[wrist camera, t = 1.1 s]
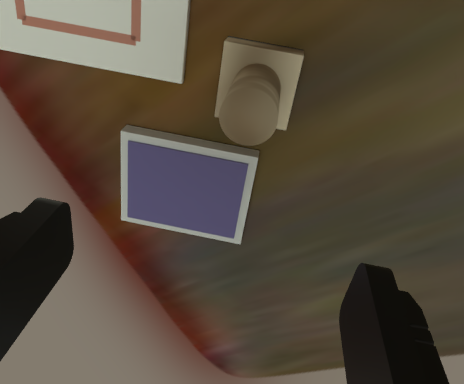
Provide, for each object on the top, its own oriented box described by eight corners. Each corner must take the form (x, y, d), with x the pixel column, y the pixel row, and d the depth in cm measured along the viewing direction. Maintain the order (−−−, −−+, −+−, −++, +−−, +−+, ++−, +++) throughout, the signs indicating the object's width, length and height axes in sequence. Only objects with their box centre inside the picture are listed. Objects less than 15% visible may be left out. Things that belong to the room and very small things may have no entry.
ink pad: (259, 150, 28) (258, 159, 27) (242, 235, 33) (240, 245, 31) (126, 124, 29) (119, 131, 28) (126, 211, 33) (120, 221, 32)
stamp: (303, 49, 24) (306, 80, 18) (286, 120, 27) (284, 168, 21) (228, 35, 25) (207, 62, 19) (218, 107, 27) (197, 151, 21)
